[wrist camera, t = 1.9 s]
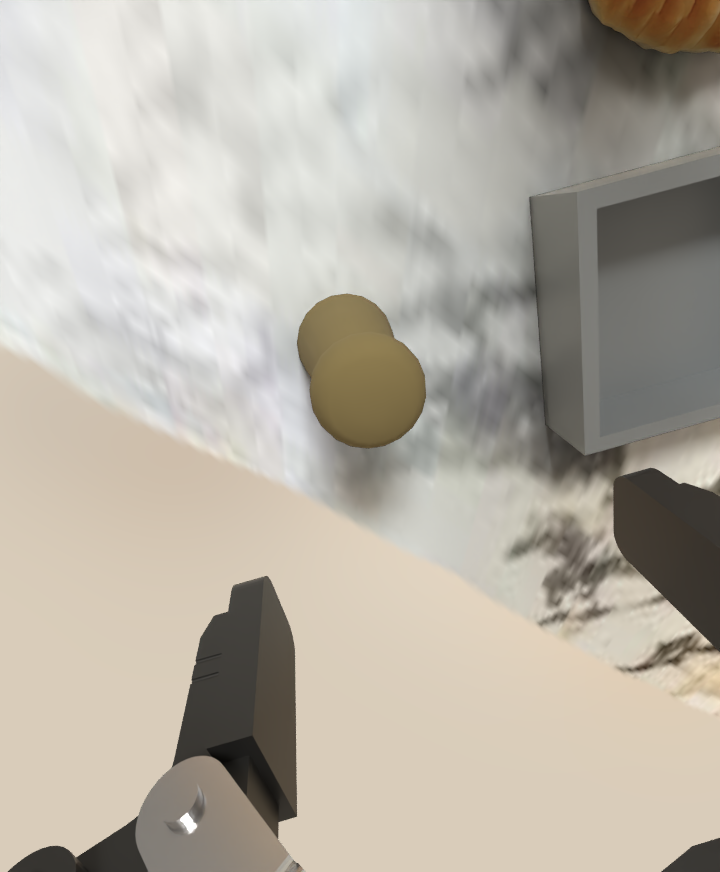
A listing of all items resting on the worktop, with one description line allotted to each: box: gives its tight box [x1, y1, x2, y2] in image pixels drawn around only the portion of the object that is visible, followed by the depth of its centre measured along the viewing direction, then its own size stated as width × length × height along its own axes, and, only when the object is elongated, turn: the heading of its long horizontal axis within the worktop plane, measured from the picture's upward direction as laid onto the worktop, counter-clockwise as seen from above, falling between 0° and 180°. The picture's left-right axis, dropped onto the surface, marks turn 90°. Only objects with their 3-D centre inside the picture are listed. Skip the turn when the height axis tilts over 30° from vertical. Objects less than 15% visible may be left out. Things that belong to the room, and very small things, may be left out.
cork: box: [297, 294, 426, 448], centre depth 25 cm, size 6×6×11 cm
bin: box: [530, 147, 720, 456], centre depth 29 cm, size 15×15×5 cm
